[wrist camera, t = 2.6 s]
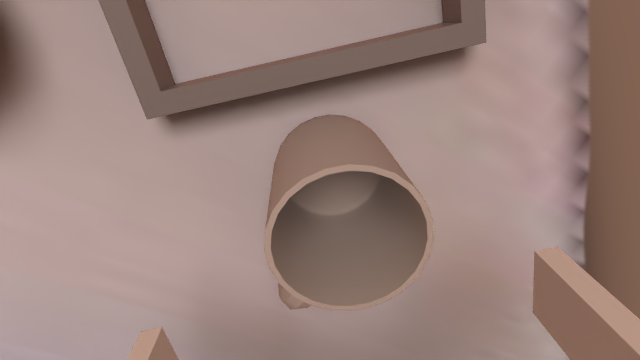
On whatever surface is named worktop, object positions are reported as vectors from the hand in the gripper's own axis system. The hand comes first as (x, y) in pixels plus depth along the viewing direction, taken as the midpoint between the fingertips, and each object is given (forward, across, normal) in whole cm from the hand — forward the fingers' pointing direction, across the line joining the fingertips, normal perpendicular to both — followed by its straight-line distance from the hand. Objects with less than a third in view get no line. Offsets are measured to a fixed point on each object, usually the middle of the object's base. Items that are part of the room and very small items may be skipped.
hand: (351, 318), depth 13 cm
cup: (+12, 0, 0) cm, 12 cm away
